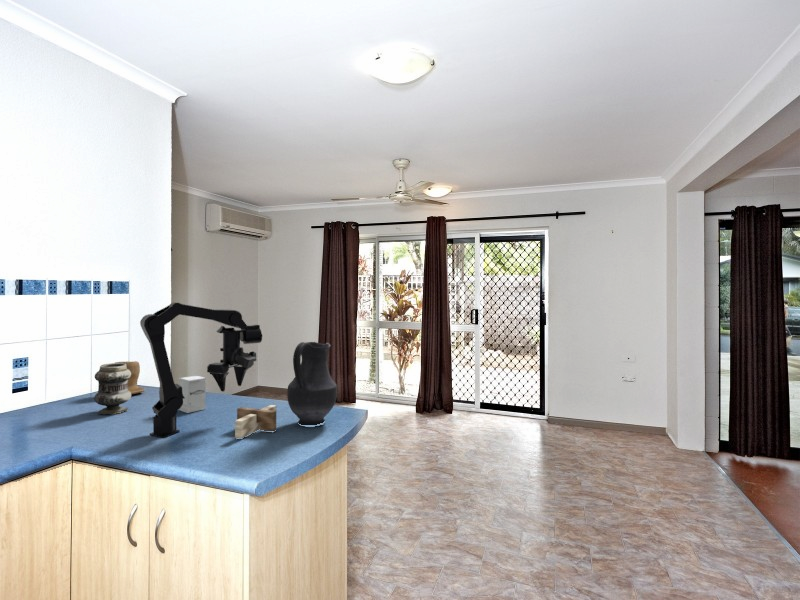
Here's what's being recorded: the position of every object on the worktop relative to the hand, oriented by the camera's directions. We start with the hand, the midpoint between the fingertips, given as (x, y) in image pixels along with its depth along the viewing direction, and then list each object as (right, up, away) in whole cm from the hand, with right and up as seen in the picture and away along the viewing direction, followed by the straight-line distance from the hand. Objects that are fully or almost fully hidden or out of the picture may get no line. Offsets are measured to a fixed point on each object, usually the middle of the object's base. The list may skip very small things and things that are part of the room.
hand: (231, 388), depth 163 cm
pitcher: (+28, -13, -2) cm, 31 cm away
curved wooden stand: (-60, -10, +36) cm, 71 cm away
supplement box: (-21, -11, +15) cm, 28 cm away
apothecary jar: (-49, -11, +11) cm, 52 cm away
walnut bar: (+12, -13, -8) cm, 19 cm away
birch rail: (+12, -13, -8) cm, 19 cm away
